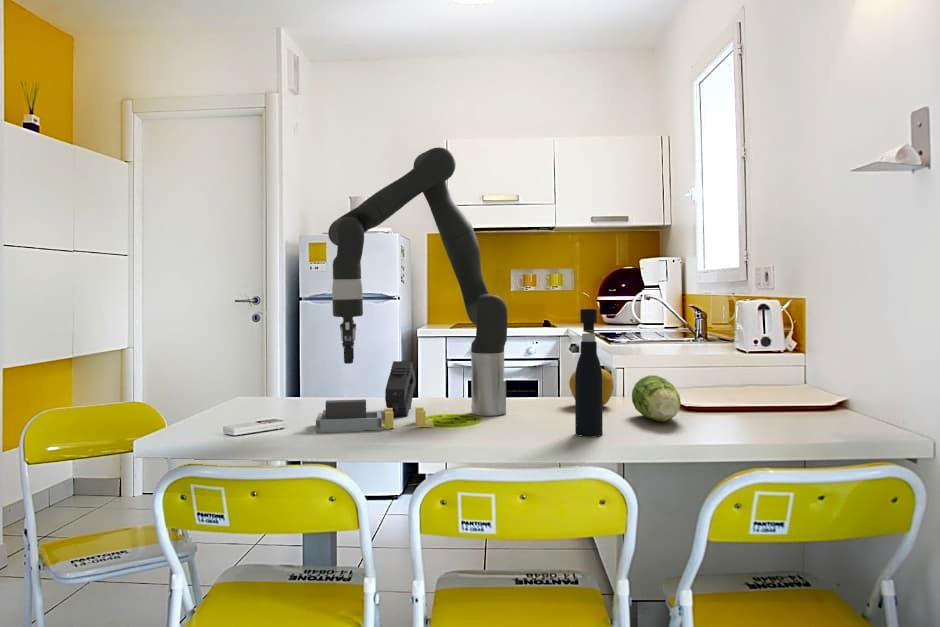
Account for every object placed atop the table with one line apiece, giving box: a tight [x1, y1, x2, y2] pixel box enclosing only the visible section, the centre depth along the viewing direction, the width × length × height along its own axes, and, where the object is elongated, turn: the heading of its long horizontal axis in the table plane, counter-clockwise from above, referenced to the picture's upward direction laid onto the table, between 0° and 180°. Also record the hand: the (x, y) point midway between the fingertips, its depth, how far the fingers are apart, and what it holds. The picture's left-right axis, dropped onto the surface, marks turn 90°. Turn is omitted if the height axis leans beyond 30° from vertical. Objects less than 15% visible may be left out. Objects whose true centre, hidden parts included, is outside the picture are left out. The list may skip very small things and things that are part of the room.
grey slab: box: [322, 398, 367, 419], centre depth 178 cm, size 11×4×6 cm, turn 98°
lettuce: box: [631, 375, 682, 422], centre depth 184 cm, size 12×21×11 cm, turn 178°
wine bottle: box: [574, 308, 603, 437], centre depth 168 cm, size 6×6×30 cm
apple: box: [568, 368, 614, 407], centre depth 208 cm, size 13×13×11 cm
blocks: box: [382, 406, 435, 430], centre depth 180 cm, size 14×7×4 cm, turn 98°
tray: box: [315, 410, 383, 433], centre depth 178 cm, size 16×10×3 cm, turn 98°
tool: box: [384, 359, 416, 417], centre depth 198 cm, size 6×19×15 cm
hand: (349, 361), depth 178 cm, fingers open, 8 cm apart
